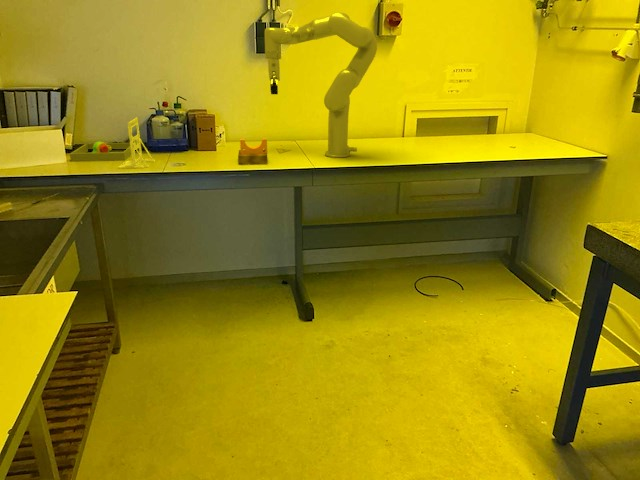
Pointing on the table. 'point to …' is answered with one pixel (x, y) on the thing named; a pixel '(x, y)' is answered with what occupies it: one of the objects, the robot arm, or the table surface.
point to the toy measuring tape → (101, 148)
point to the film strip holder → (135, 147)
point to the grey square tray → (83, 156)
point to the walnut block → (252, 158)
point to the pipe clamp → (255, 149)
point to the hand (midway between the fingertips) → (274, 93)
